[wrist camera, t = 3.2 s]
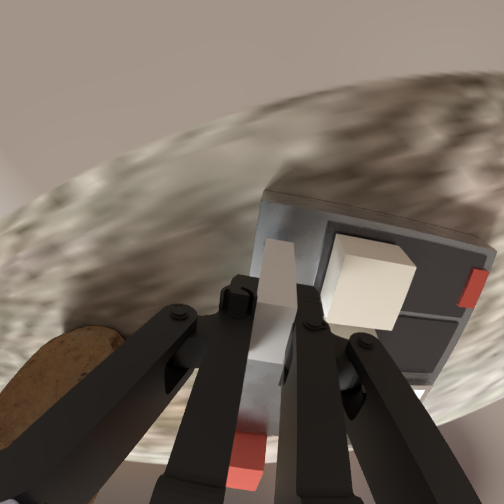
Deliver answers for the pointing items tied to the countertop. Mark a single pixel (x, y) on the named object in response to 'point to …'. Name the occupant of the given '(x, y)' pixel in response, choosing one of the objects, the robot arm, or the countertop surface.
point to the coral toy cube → (247, 460)
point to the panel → (415, 304)
